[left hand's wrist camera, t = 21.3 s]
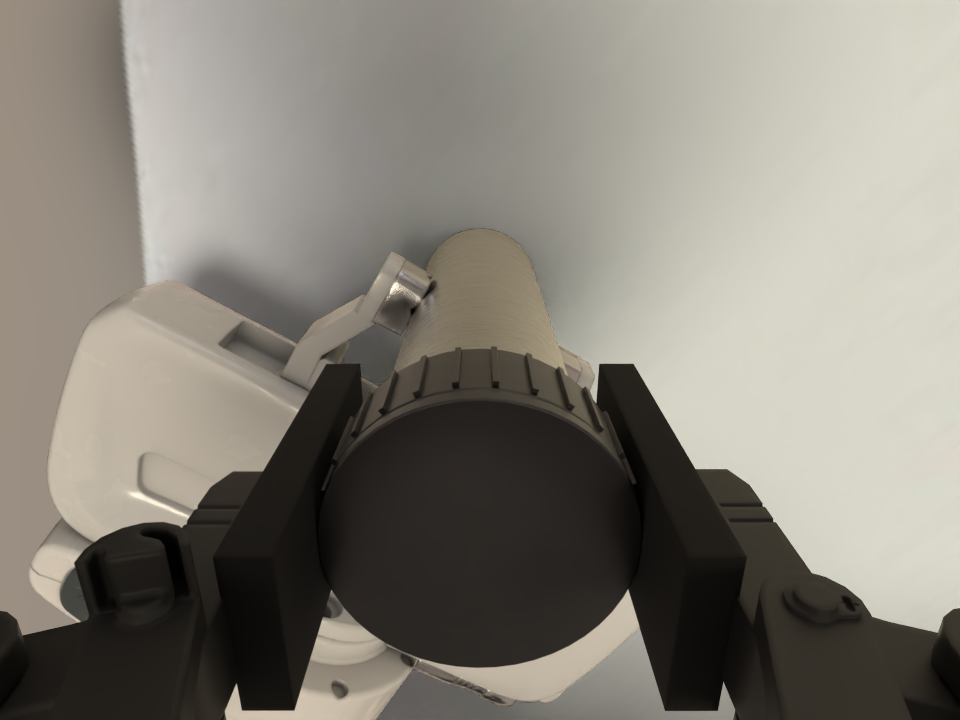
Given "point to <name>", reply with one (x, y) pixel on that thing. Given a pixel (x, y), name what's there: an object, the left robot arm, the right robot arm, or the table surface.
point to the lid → (479, 511)
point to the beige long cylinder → (480, 302)
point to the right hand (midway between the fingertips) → (493, 312)
